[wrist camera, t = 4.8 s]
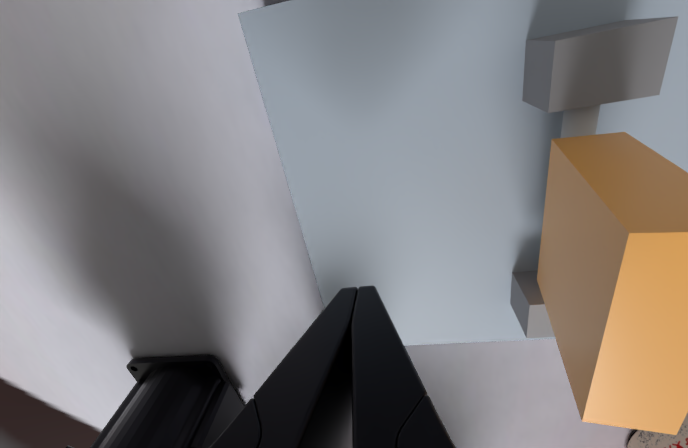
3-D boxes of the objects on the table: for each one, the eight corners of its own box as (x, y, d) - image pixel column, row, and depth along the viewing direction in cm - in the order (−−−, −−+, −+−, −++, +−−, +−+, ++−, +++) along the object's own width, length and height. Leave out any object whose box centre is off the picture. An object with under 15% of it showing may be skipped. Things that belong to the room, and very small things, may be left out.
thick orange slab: (536, 279, 11) (581, 421, 7) (551, 139, 9) (629, 233, 5) (593, 281, 11) (676, 435, 7) (624, 131, 8) (777, 230, 4)
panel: (341, 311, 18) (330, 382, 14) (265, 17, 12) (208, 8, 8) (732, 285, 15) (849, 368, 11) (933, -149, 8) (1383, -300, 5)
